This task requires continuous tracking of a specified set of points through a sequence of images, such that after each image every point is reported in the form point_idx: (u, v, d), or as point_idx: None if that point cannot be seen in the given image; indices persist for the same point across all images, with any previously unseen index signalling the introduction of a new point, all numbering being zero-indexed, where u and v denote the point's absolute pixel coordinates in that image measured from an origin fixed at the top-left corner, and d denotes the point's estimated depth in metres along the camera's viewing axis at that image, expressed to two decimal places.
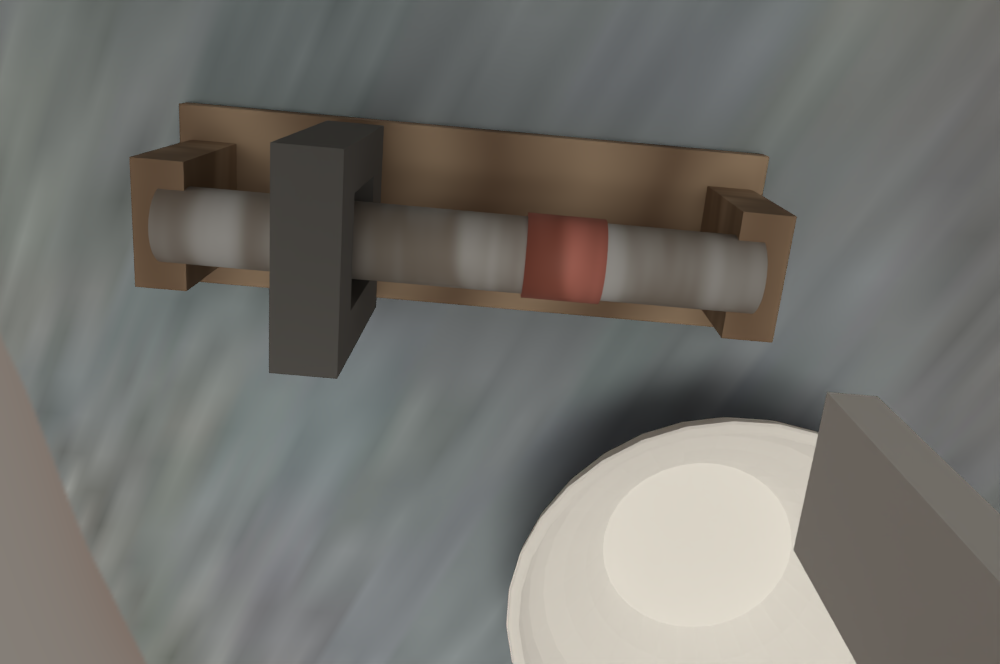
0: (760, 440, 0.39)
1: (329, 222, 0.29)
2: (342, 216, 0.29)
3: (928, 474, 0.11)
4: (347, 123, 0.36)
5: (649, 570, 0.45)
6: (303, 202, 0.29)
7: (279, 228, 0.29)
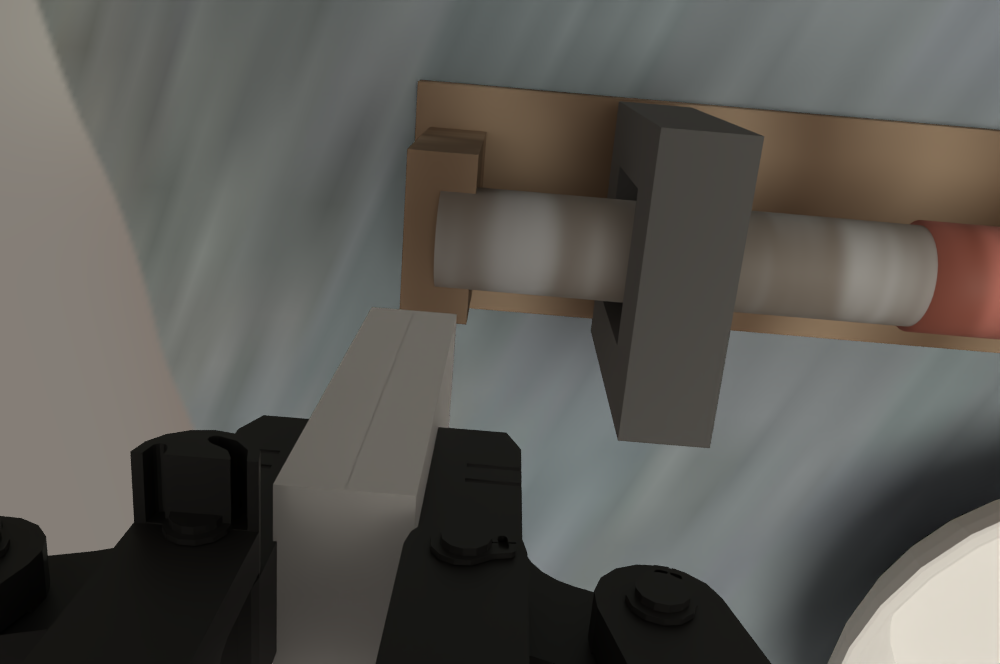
0: None
1: (729, 238, 0.21)
2: (746, 230, 0.21)
3: (417, 363, 0.13)
4: (650, 104, 0.28)
5: (944, 649, 0.37)
6: (696, 211, 0.21)
7: (659, 247, 0.21)
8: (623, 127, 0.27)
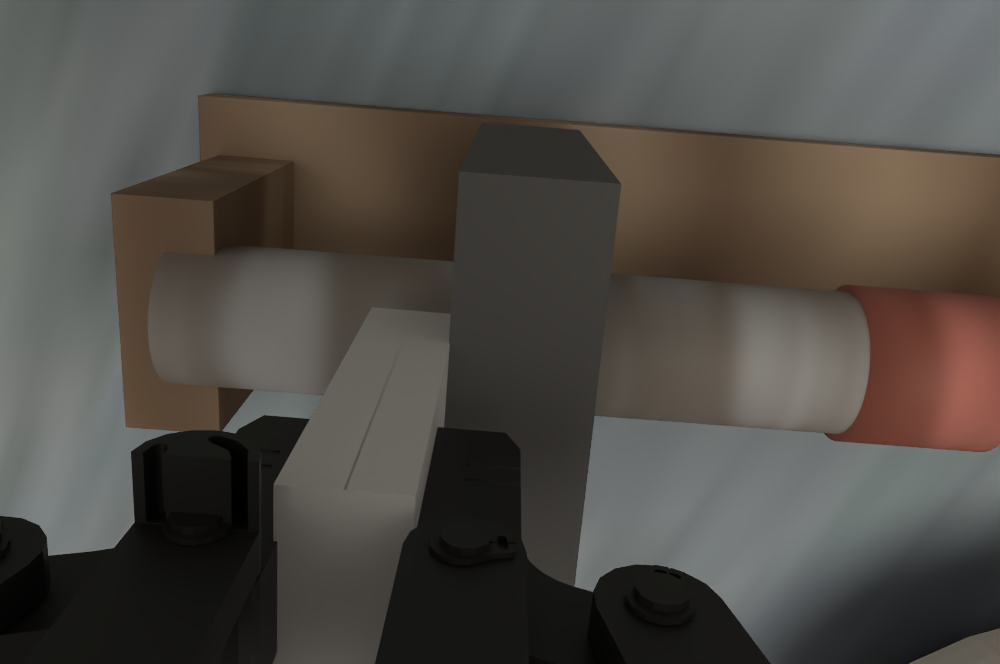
0: None
1: (576, 339, 0.14)
2: (603, 325, 0.14)
3: (417, 363, 0.13)
4: (521, 127, 0.21)
5: None
6: (523, 298, 0.13)
7: (470, 352, 0.14)
8: None
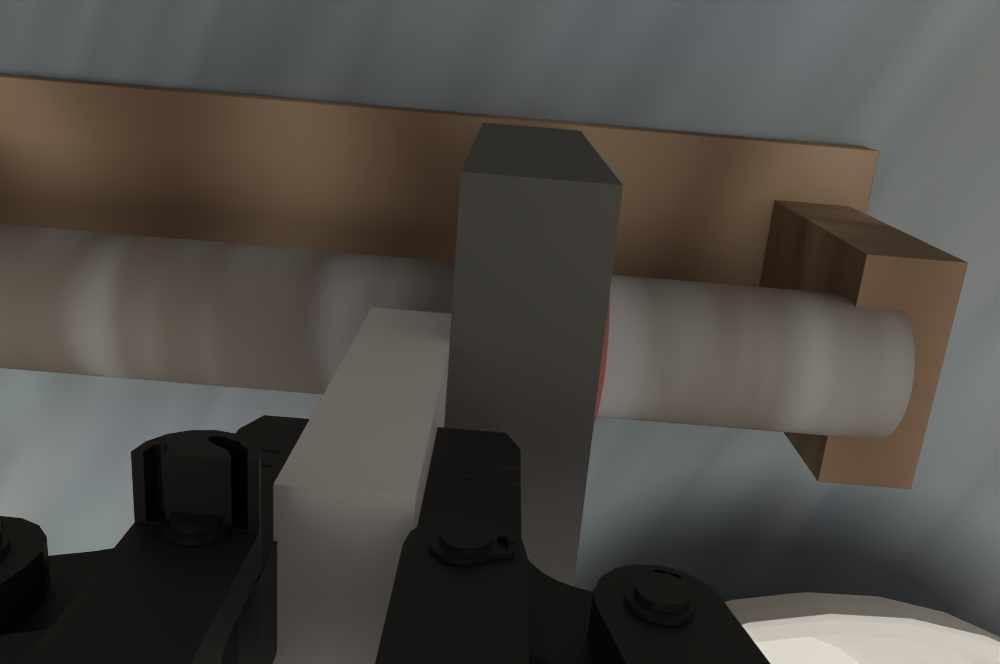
0: None
1: (577, 339, 0.14)
2: (604, 326, 0.14)
3: (417, 362, 0.13)
4: (522, 127, 0.21)
5: None
6: (524, 298, 0.13)
7: (470, 352, 0.14)
8: None
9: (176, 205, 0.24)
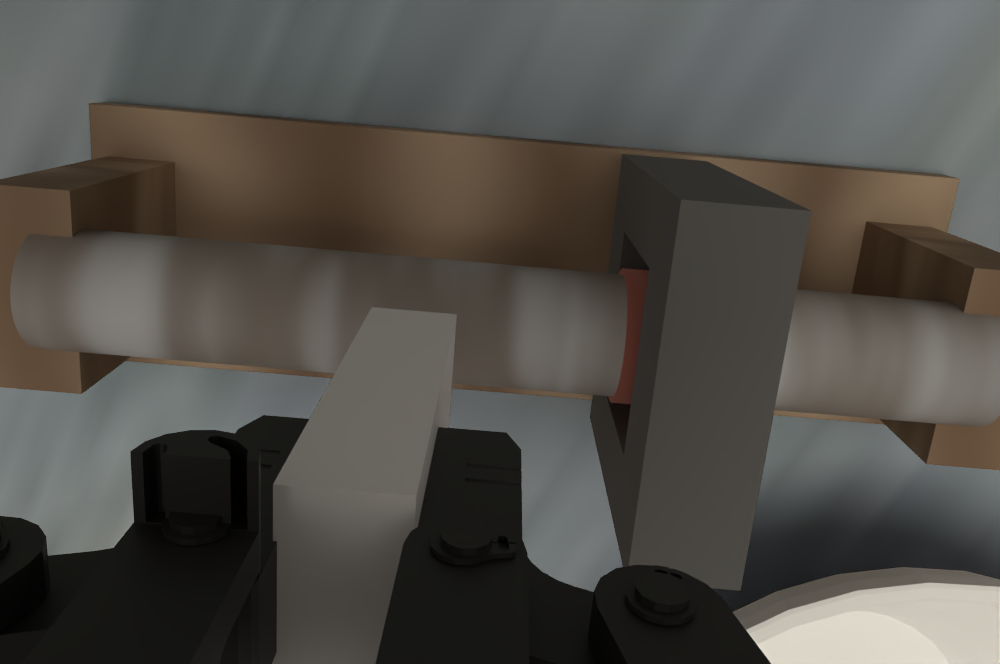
0: None
1: (766, 336, 0.17)
2: (787, 325, 0.17)
3: (417, 362, 0.13)
4: (659, 158, 0.24)
5: None
6: (725, 302, 0.16)
7: (678, 347, 0.17)
8: (628, 186, 0.23)
9: (336, 225, 0.27)
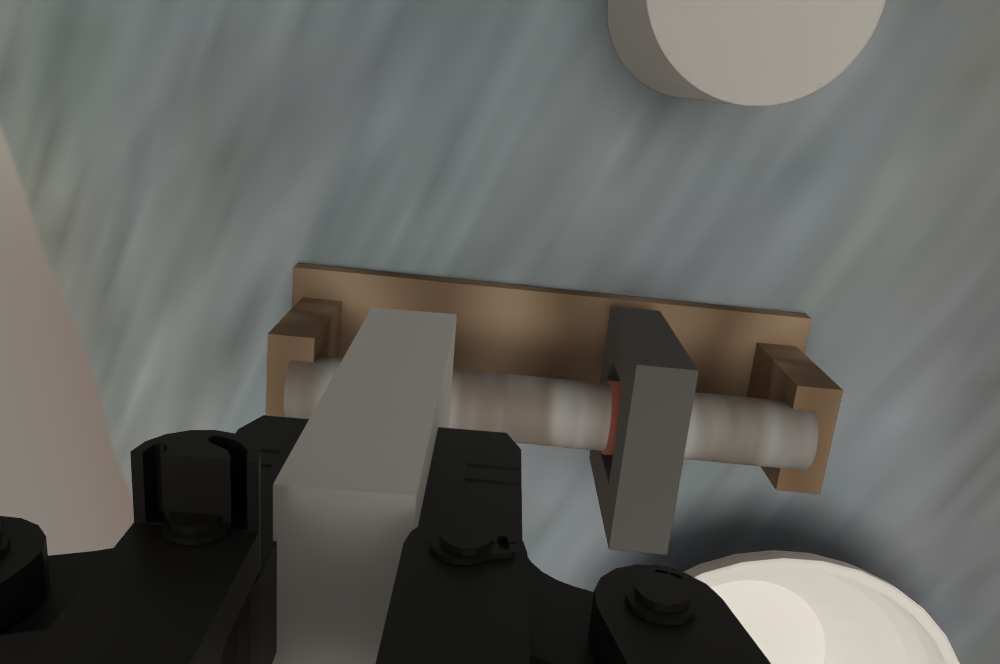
0: None
1: (678, 428, 0.34)
2: None
3: (417, 362, 0.13)
4: (631, 310, 0.42)
5: None
6: (658, 412, 0.34)
7: (635, 433, 0.34)
8: (613, 330, 0.40)
9: None
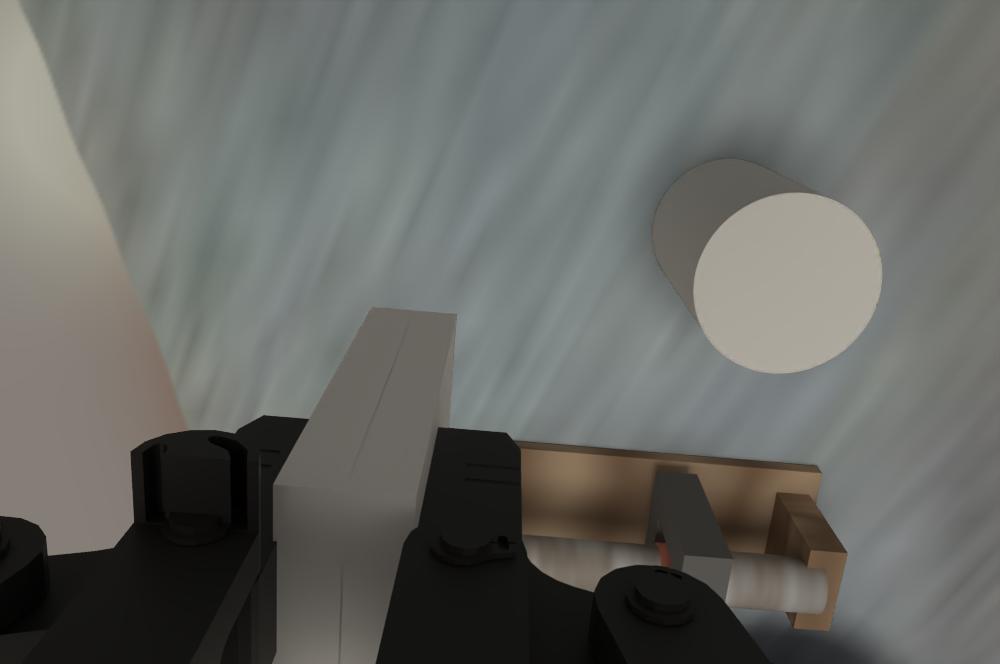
0: None
1: None
2: (725, 596, 0.44)
3: (417, 362, 0.13)
4: (674, 476, 0.51)
5: None
6: None
7: None
8: (660, 497, 0.50)
9: None
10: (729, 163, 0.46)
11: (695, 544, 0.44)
